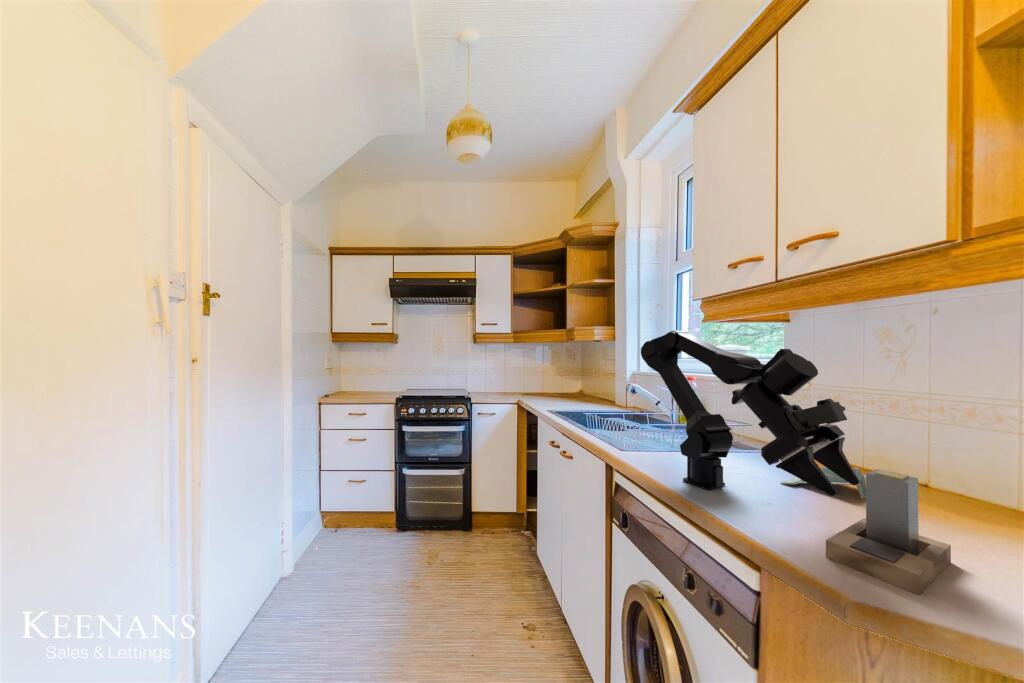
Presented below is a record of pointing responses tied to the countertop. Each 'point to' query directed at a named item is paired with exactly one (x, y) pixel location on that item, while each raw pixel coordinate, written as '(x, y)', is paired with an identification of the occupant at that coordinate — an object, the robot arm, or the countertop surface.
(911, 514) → the grey tall block
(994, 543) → the countertop surface
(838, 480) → the metal bracket
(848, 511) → the countertop surface
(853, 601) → the countertop surface
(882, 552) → the plate with square hole
